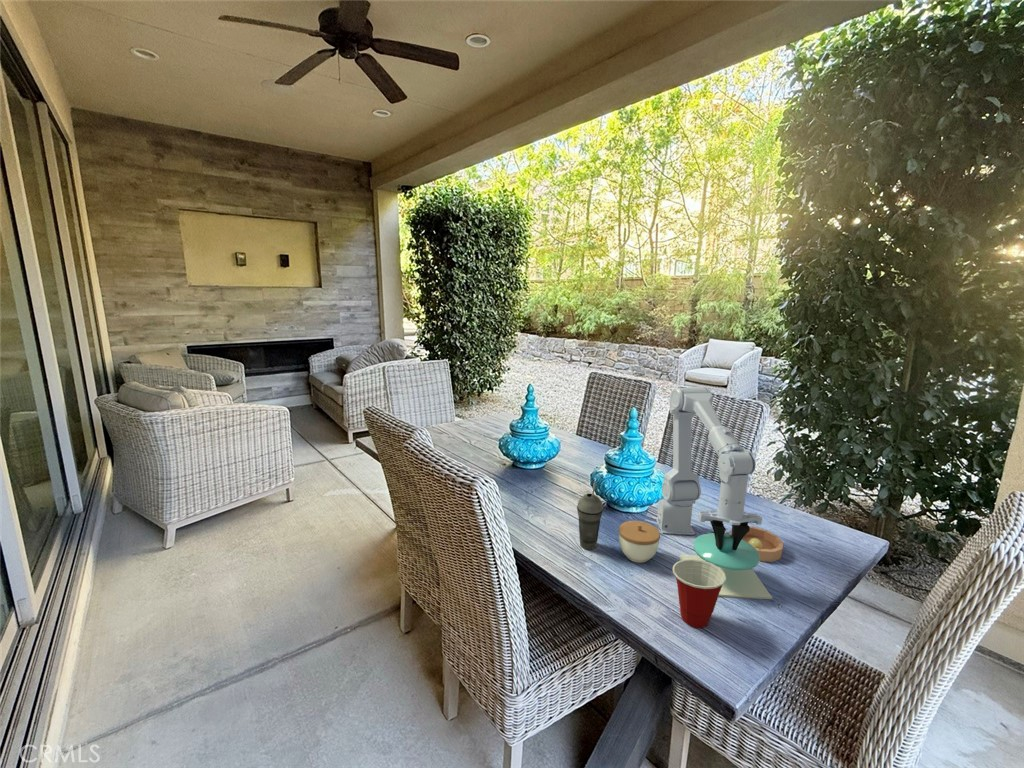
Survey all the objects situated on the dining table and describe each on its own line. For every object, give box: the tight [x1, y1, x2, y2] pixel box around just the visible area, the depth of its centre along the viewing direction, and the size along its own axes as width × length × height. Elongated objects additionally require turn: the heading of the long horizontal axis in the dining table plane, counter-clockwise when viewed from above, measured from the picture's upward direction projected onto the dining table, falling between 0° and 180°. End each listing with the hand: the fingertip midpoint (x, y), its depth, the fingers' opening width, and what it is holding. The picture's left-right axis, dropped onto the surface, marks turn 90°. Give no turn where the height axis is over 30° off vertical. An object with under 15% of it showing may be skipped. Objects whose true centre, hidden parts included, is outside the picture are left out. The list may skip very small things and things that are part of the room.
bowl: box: [729, 525, 784, 563], centre depth 129 cm, size 13×13×4 cm
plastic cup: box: [672, 559, 726, 629], centre depth 101 cm, size 11×11×12 cm
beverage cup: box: [576, 480, 604, 551], centre depth 128 cm, size 7×7×20 cm
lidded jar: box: [618, 520, 661, 564], centre depth 124 cm, size 11×11×9 cm
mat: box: [679, 554, 773, 600], centre depth 117 cm, size 17×16×1 cm
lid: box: [693, 532, 760, 570], centre depth 115 cm, size 15×15×4 cm
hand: (725, 547), depth 115 cm, fingers closed on lid, 3 cm apart
